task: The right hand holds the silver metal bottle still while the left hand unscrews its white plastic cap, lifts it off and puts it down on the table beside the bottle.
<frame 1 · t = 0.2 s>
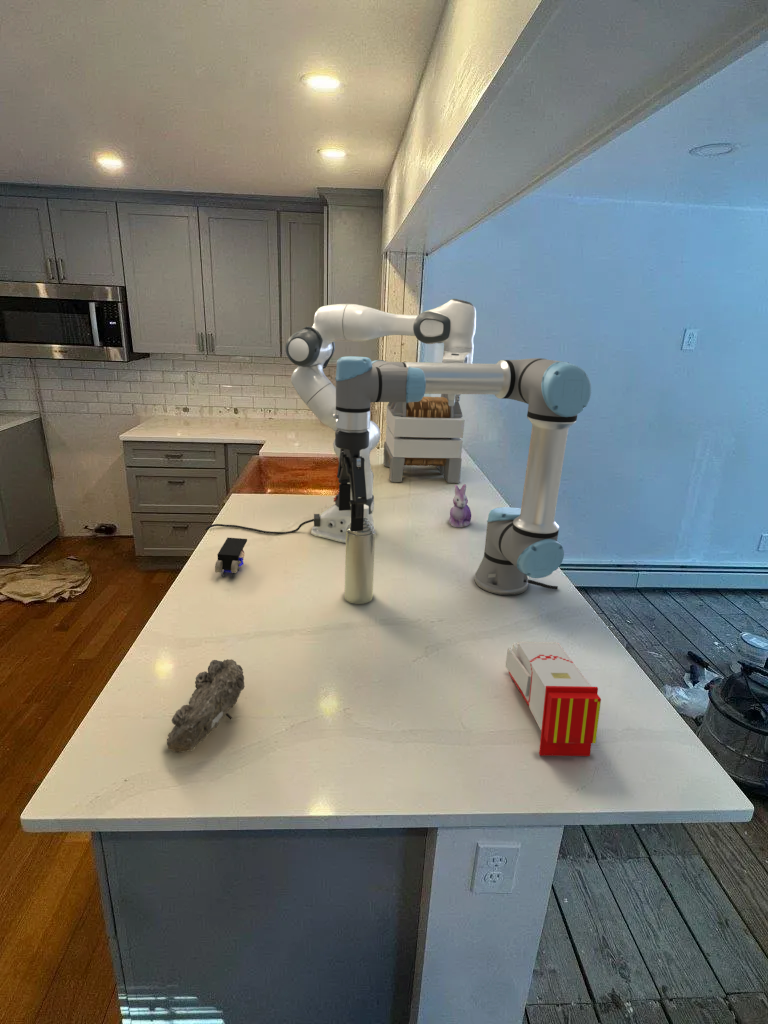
left hand: (454, 403, 174), 48 cm above the counter, tool pointing down, fingers open, 8 cm apart
right hand: (350, 519, 132), 28 cm above the counter, tool pointing down, fingers open, 13 cm apart
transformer: (419, 473, 275), on the counter
bottle: (358, 597, 155), on the counter
cap: (361, 507, 146), point 26 cm above the counter, screwed on, not yet turned
figurine: (459, 523, 212), on the counter
toy: (542, 706, 115), on the counter
fossil: (212, 717, 108), on the counter
figurine character: (232, 569, 168), on the counter
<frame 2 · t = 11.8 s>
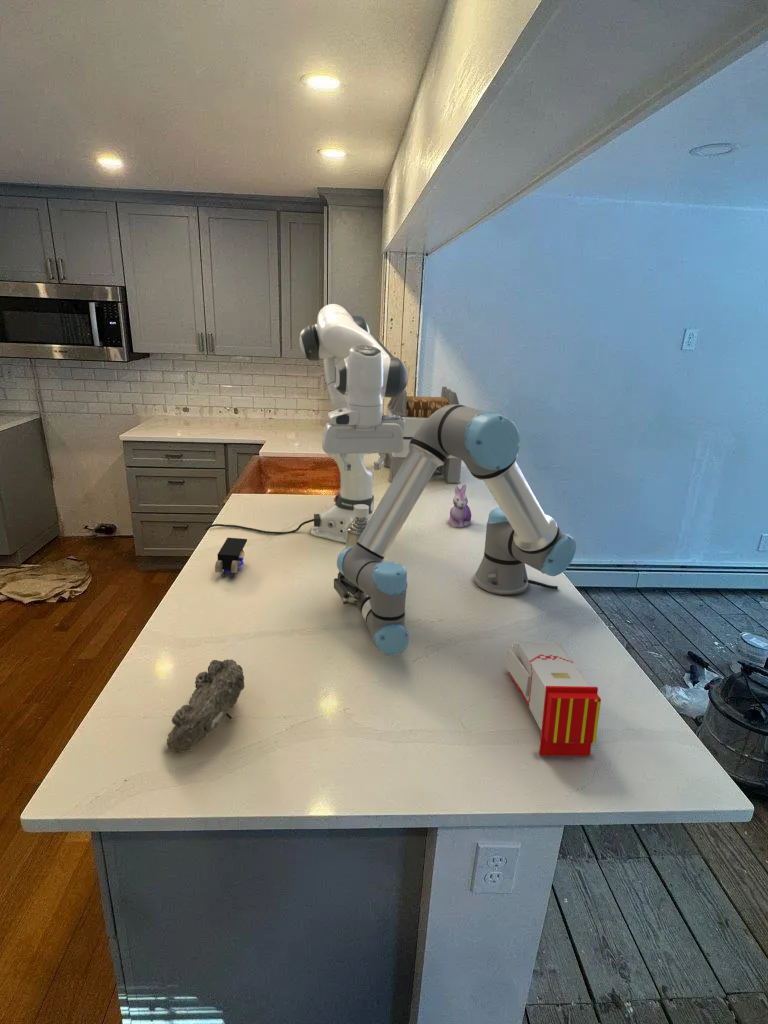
left hand: (362, 470, 143), 36 cm above the counter, tool pointing down, fingers open, 6 cm apart
right hand: (355, 568, 157), 6 cm above the counter, tool horizontal, fingers closed on bottle, 8 cm apart
bottle: (358, 597, 155), on the counter, touching right hand
everything else where it was.
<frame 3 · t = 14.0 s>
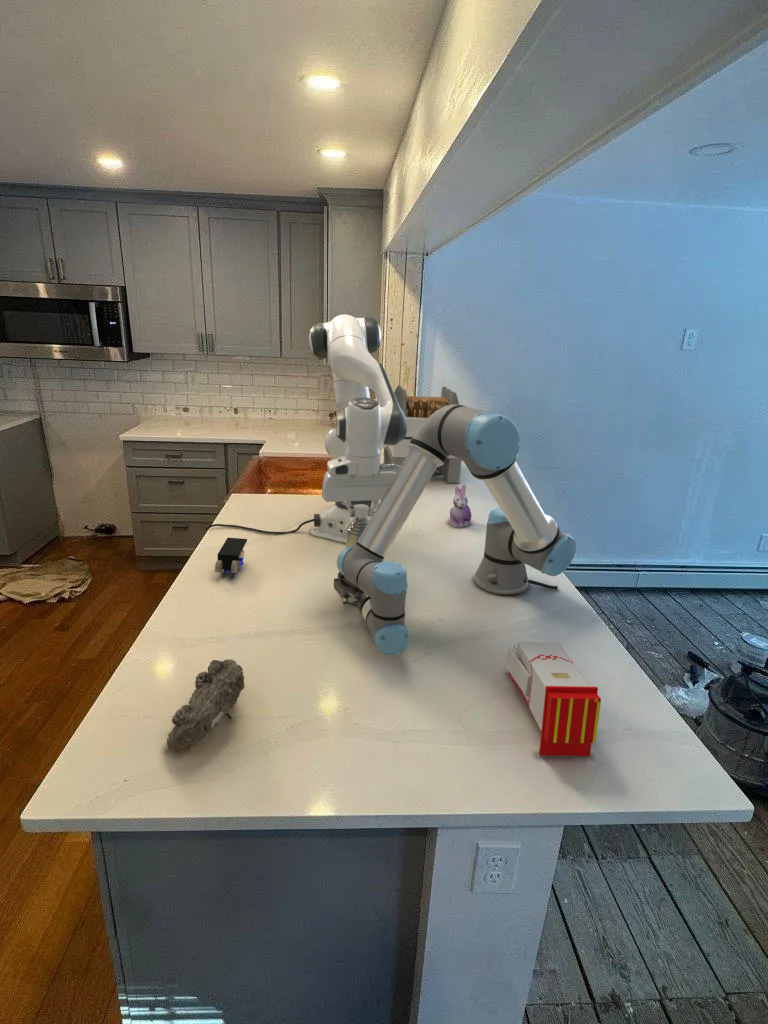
left hand: (361, 515, 147), 24 cm above the counter, tool pointing down, fingers closed on cap, 4 cm apart
right hand: (355, 568, 157), 6 cm above the counter, tool horizontal, fingers closed on bottle, 8 cm apart
bottle: (358, 597, 155), on the counter, touching right hand
cap: (361, 507, 146), point 26 cm above the counter, screwed on, not yet turned, touching left hand
everything else where it was.
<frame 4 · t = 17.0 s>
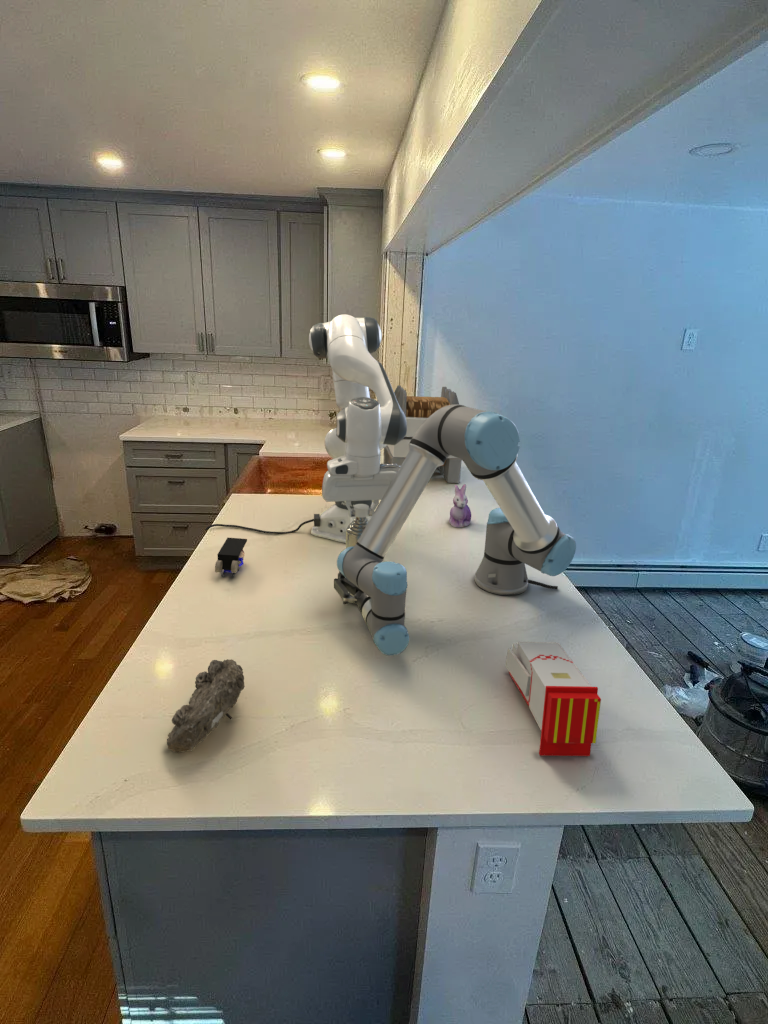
left hand: (361, 515, 147), 24 cm above the counter, tool pointing down, fingers closed on cap, 4 cm apart
right hand: (355, 568, 157), 6 cm above the counter, tool horizontal, fingers closed on bottle, 8 cm apart
bottle: (358, 597, 155), on the counter, touching right hand
cap: (361, 507, 146), point 26 cm above the counter, turned 70° so far, risen 0.1 cm, still on its thread, touching left hand
everything else where it was.
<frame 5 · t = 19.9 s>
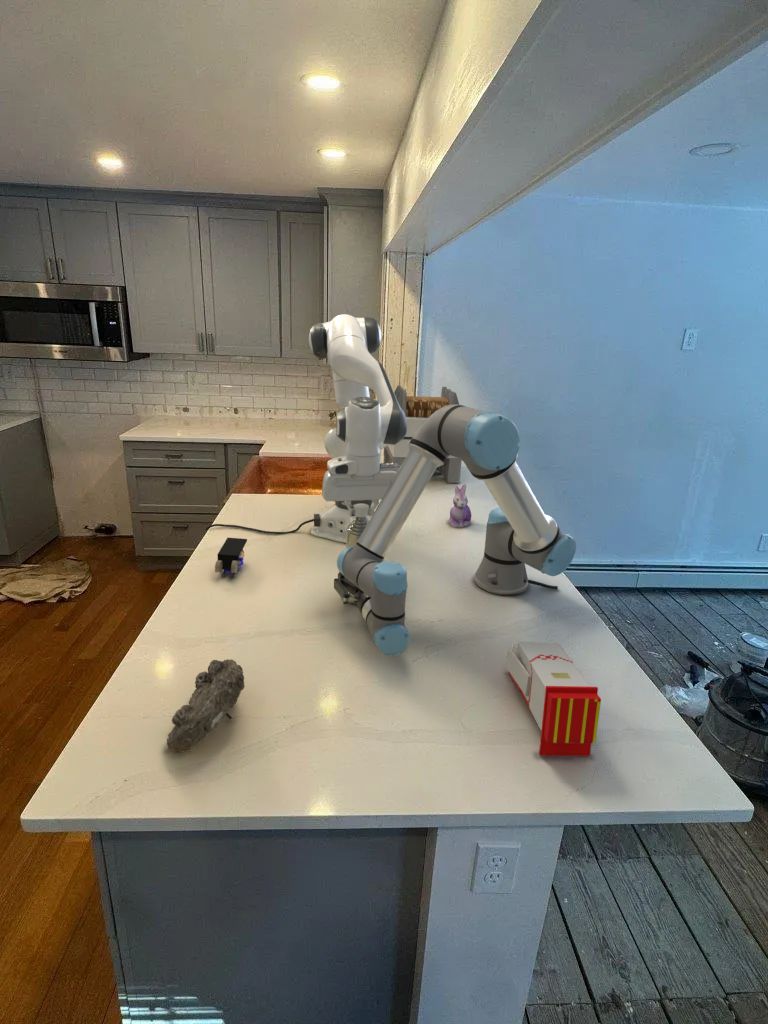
left hand: (361, 515, 147), 24 cm above the counter, tool pointing down, fingers closed on cap, 4 cm apart
right hand: (355, 568, 157), 6 cm above the counter, tool horizontal, fingers closed on bottle, 8 cm apart
bottle: (358, 597, 155), on the counter, touching right hand
cap: (361, 507, 146), point 26 cm above the counter, turned 141° so far, risen 0.2 cm, still on its thread, touching left hand
everything else where it was.
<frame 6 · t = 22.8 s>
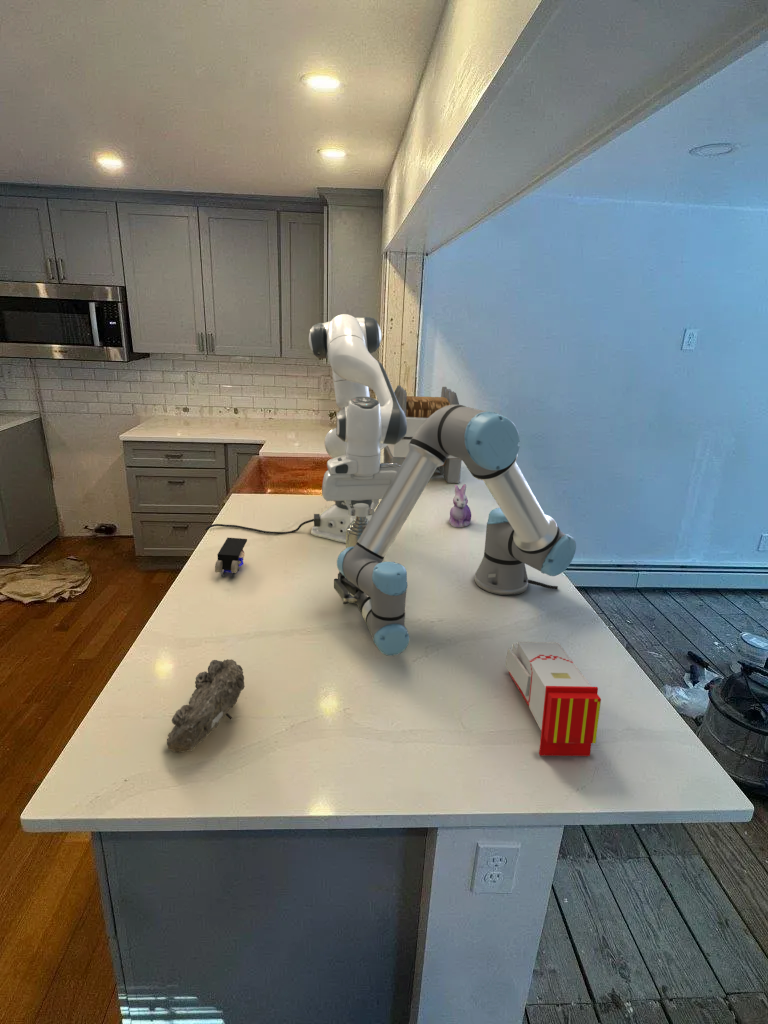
left hand: (361, 515, 147), 24 cm above the counter, tool pointing down, fingers closed on cap, 4 cm apart
right hand: (355, 568, 157), 6 cm above the counter, tool horizontal, fingers closed on bottle, 8 cm apart
bottle: (358, 597, 155), on the counter, touching right hand
cap: (361, 506, 146), point 26 cm above the counter, turned 211° so far, risen 0.2 cm, still on its thread, touching left hand
everything else where it was.
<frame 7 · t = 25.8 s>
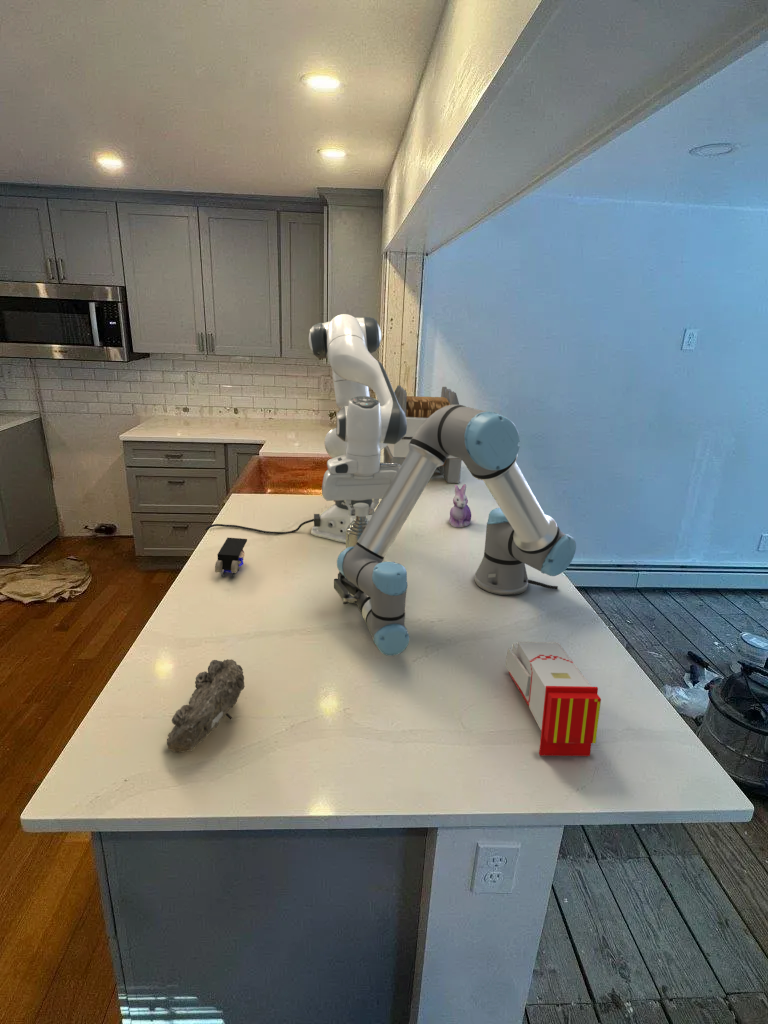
left hand: (361, 514, 147), 24 cm above the counter, tool pointing down, fingers closed on cap, 4 cm apart
right hand: (355, 568, 157), 6 cm above the counter, tool horizontal, fingers closed on bottle, 8 cm apart
bottle: (358, 597, 155), on the counter, touching right hand
cap: (361, 506, 146), point 26 cm above the counter, turned 281° so far, risen 0.3 cm, still on its thread, touching left hand
everything else where it was.
when the left hand's fingers open (2 cm above the counter, at t = 34.7 s): cap drops 2 cm, point 2 cm above the counter.
when the right hand's fingers open (6 cm above the counter, at t = 35.9 s): bottle stays where it is, on the counter.
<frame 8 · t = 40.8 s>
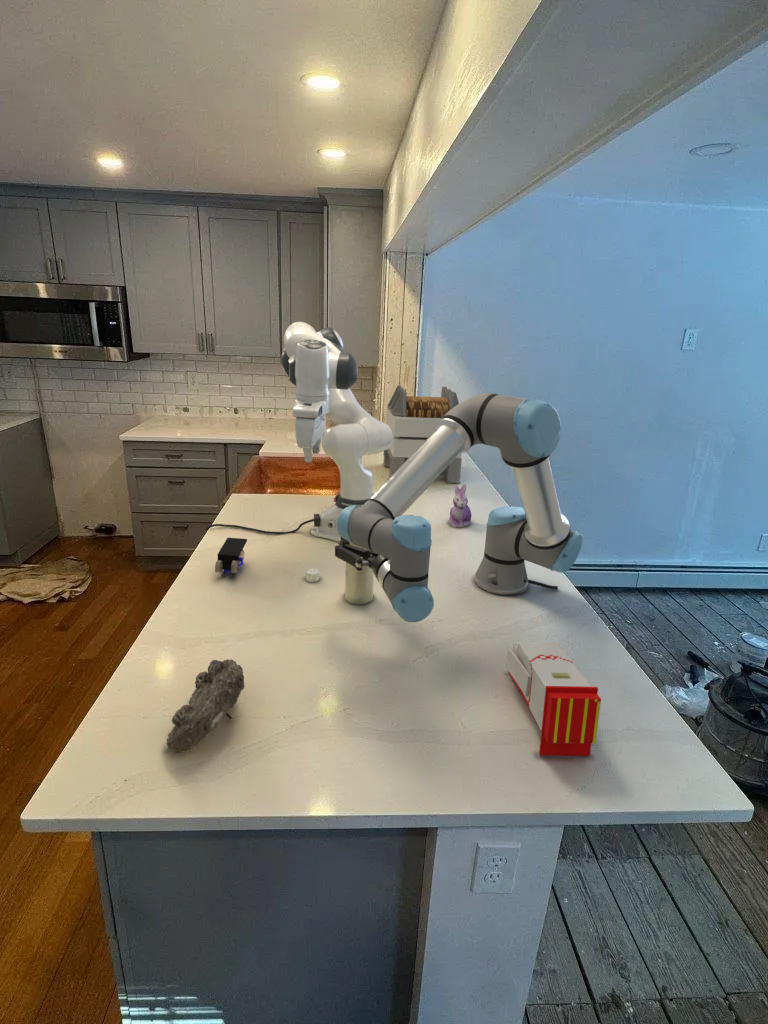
left hand: (312, 457, 152), 36 cm above the counter, tool pointing down, fingers open, 8 cm apart
right hand: (369, 535, 140), 22 cm above the counter, tool horizontal, fingers open, 13 cm apart
bottle: (358, 597, 155), on the counter
cap: (312, 572, 164), point 2 cm above the counter, off its thread
everything else where it was.
at the end: cap came off its thread; cap point 2.1 cm above the counter; the left hand is holding nothing; the right hand is holding nothing; bottle tilted 0°; bottle moved 0.1 cm from its start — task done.
